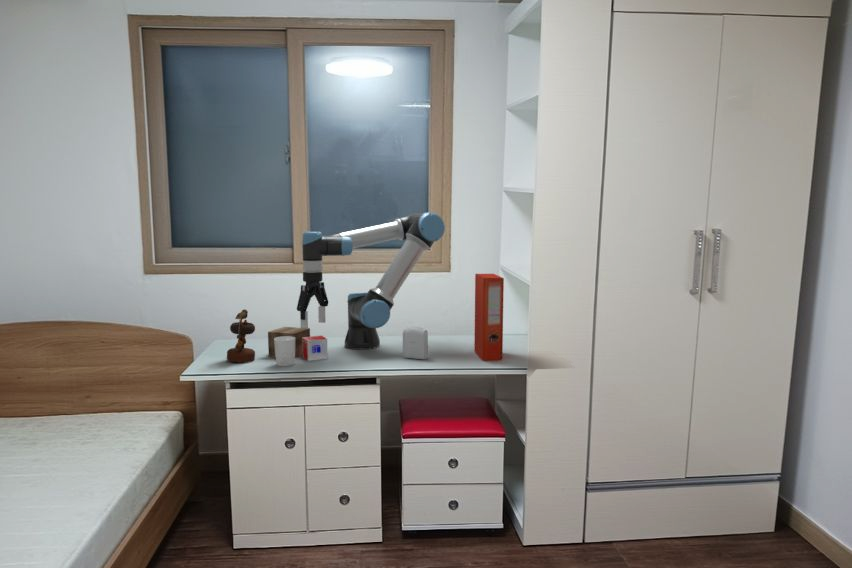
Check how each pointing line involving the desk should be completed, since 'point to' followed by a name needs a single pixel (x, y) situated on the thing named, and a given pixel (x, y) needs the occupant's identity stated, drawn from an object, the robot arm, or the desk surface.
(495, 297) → the file binder
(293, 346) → the white cup
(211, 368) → the desk surface
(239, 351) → the brown tall carved piece
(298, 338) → the walnut pedestal
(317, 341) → the red white patterned cube
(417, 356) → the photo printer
